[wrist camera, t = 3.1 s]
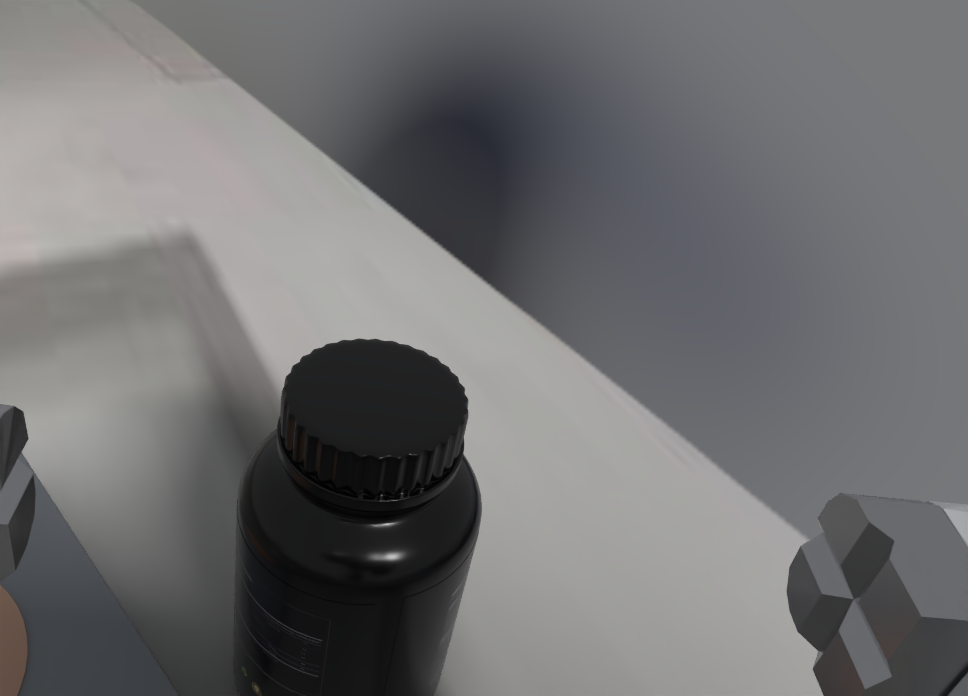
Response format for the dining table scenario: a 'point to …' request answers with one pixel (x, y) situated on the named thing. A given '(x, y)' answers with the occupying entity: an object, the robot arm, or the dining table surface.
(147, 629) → the dining table surface
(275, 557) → the supplement bottle
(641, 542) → the dining table surface
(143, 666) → the mat
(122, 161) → the dining table surface
